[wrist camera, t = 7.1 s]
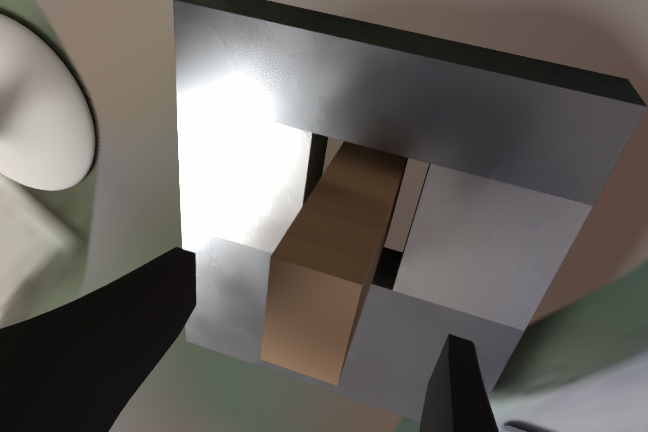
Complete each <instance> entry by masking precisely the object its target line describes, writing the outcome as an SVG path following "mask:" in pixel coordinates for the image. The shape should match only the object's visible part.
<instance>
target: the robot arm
mask: <svg viewBox="0 0 648 432" xmlns="http://www.w3.org/2000/svg"><path fill="white" fill-rule="evenodd" d="M195 307H196V253H194V252H191V251H187V250H184V249H181V248H178V247H175V248H174V249H172V250H170V251H168V252H166V253H164V254H162V255H161V256H159V257H157V258H155V259H153V260H152V261H150V262H148V263H147V264H144V265H143V266H141V267H139V268H137V269H136V270H134V271H132V272H130V273H128V274H126V275H124V276H123V277H121V278H119V279H117V280H115V281H113V282H111V283H110V284H108V285H106V286H104V287H102V288H99V289H97V290H95V291H93V292H91V293H89V294H87V295H85V296H83V297H81V298H79V299H77V300H75V301H73V302H70V303H68V304H66V305H64V306H61V307H59V308H56V309H54V310H52V311H49V312H47V313H44V314H41V315H39V316H36V317H34V318H31V319H29V320H26V321H23V322H20V323H17V324H14V325H11V326H8V327H5V328H2V329H0V432H108V431H109V430H110V428H111V427H112V425H113V423H114V422H115V420H116V419H117V417H118V416H119V414H120V412H121V411H122V409H123V408H124V407H125V405H126V404H127V402H128V401H129V400H130V398H131V397H132V396H133V394H134V393H135V392H136V390H137V389H138V388H139V387H140V385H141V384H142V383H143V381H144V380H145V379H146V378H147V376H148V375H149V374H150V372H151V371H152V370H153V368H154V367H155V366H156V365H157V363H158V362H159V360H160V359H161V358H162V357H163V356H164V354H165V353H166V351H167V350H168V349H169V347H170V346H171V345H172V344H173V342H174V341H175V340H176V338H177V337H178V335H179V334H180V332H181V331H182V329H183V327H184V325H185V324H186V323H187V321H188V319H189V317H190V315H191V314H192V312H193V310H194V308H195ZM420 432H527V431H524V430H521V429H518V428H515V427H512V426H502V427H500V428H499V429H498V427H497V424H496V421H495V418H494V415H493V412H492V409H491V406H490V403H489V400H488V397H487V393H486V390H485V386H484V382H483V379H482V375H481V371H480V367H479V362H478V358H477V353H476V348H475V345H474V343H473V341H470V340H467V339H464V338H461V337H457V336H454V335H451V334H448V337H447V339H446V341H445V344H444V346H443V349H442V351H441V353H440V356H439V358H438V361H437V363H436V365H435V368H434V370H433V372H432V375H431V377H430V380H429V382H428V386H427V391H426V396H425V401H424V406H423V411H422V416H421V424H420Z"/></svg>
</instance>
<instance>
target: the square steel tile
mask: <svg viewBox="0 0 648 432" xmlns="http://www.w3.org/2000/svg"><path fill="white" fill-rule="evenodd" d="M173 7H174V30H175V31H174V32H175V60H176V85H177V113H178V138H179V139H178V140H179V166H180V191H181V192H180V194H181V218H182V247H183V249H184V250H187V251H191V252H194V253H196V307H195V308H194V310H193V312H192V314H191V315H190V317H189V319H188V321H187V323H186V324H185V328H186V341H188V342H191V343H194V344H196V345H199V346H202V347H205V348H208V349H211V350H214V351H217V352H219V353H222V354H225V355H228V356H231V357H234V358H237V359H239V360H242V361H245V362H248V363H251V364H254V365H257V366H259V367H262V368H265V369H268V370H271V371H274V372H277V373H280V374H282V375H286V376H288V377H291V378H294V379H297V380H300V381H302V382H305V383H308V384H311V385H314V386H317V387H320V388H323V389H325V390H329V391H331V392H334V393H337V394H340V395H343V396H345V397H348V398H351V399H354V400H357V401H360V402H363V403H366V404H368V405H371V406H374V407H377V408H380V409H383V410H386V411H389V412H392V413H394V414H397V415H400V416H403V417H406V418H408V419H411V420H414V421H417V422H420V423H421V416H422V411H423V406H424V401H425V396H426V391H427V386H428V382H429V380H430V377H431V375H432V372H433V370H434V368H435V365H436V363H437V361H438V358H439V356H440V353H441V351H442V349H443V346H444V344H445V341H446V339H447V337H448V334H451V335H454V336H457V337H461V338H464V339H467V340H470V341H473V343H474V345H475V348H476V353H477V358H478V362H479V367H480V371H481V375H482V379H483V382H484V386H485V390H486V393H487V397H489V395H490V393H491V391H492V389H493V387H494V386H495V384H496V382H497V380H498V378H499V377H500V375H501V373H502V371H503V369H504V367H505V366H506V364H507V362H508V360H509V358H510V357H511V355H512V353H513V351H514V349H515V347H516V346H517V344H518V342H519V340H520V338H521V337H522V335H523V333H524V331H525V329H526V327H527V326H528V324H529V322H530V320H531V318H532V316H533V315H534V313H535V311H536V309H537V307H538V305H539V304H540V302H541V300H542V298H543V296H544V295H545V293H546V291H547V289H548V287H549V285H550V284H551V282H552V280H553V278H554V276H555V275H556V273H557V271H558V269H559V267H560V266H561V263H562V262H563V260H564V258H565V256H566V254H567V253H568V251H569V249H570V247H571V245H572V244H573V242H574V240H575V238H576V236H577V234H578V233H579V231H580V229H581V227H582V225H583V224H584V222H585V220H586V218H587V216H588V214H589V213H590V211H591V209H592V207H593V205H594V204H595V202H596V200H597V198H598V196H599V194H600V193H601V191H602V189H603V187H604V185H605V184H606V182H607V180H608V178H609V176H610V174H611V172H612V170H613V169H614V167H615V165H616V163H617V161H618V160H619V158H620V156H621V154H622V153H623V151H624V149H625V147H626V145H627V143H628V142H629V140H630V138H631V136H632V134H633V132H634V131H635V129H636V127H637V125H638V123H639V121H640V120H641V118H642V116H643V114H644V112H645V110H646V109H647V105H646V104H645V103H644V101H643V100H642V98H641V97H640V96H639V94H638V93H637V92H636V90H635V89H634V88H633V86H632V85H631V83H630V82H629V81H628V79H625V78H620V77H615V76H611V75H606V74H601V73H597V72H592V71H588V70H583V69H579V68H574V67H570V66H565V65H560V64H556V63H551V62H546V61H542V60H537V59H533V58H528V57H524V56H519V55H514V54H510V53H505V52H500V51H496V50H492V49H487V48H482V47H478V46H473V45H469V44H464V43H460V42H455V41H450V40H446V39H441V38H437V37H431V36H428V35H423V34H418V33H413V32H409V31H405V30H400V29H395V28H390V27H386V26H381V25H377V24H372V23H368V22H363V21H359V20H354V19H350V18H345V17H340V16H336V15H331V14H327V13H322V12H318V11H313V10H308V9H304V8H299V7H295V6H289V5H286V4H281V3H276V2H272V1H267V0H173ZM328 137H331V138H334V139H338V140H342V141H346V142H350V143H354V144H357V145H361V146H365V147H369V148H373V149H377V150H380V151H384V152H388V153H392V154H396V155H400V156H403V157H407V158H412V159H415V160H419V161H423V162H427V163H429V167H428V170H427V174H426V177H425V180H424V184H423V187H422V190H421V194H420V197H419V200H418V204H417V207H416V211H415V214H414V217H413V220H412V224H411V227H410V230H409V234H408V237H407V241H406V244H405V247H404V251H403V253H402V252H399V251H396V250H392V249H389V248H385V247H383V250H382V253H381V256H380V259H379V262H378V265H377V268H376V271H375V274H374V277H373V280H372V283H371V286H370V289H369V292H368V295H367V298H366V301H365V304H364V307H363V310H362V313H361V316H360V319H359V322H358V325H357V328H356V331H355V334H354V337H353V340H352V343H351V346H350V349H349V352H348V355H347V358H346V361H345V364H344V367H343V370H342V373H341V376H340V379H339V382H338V385H337V386H336V385H333V384H331V383H328V382H325V381H322V380H319V379H316V378H313V377H310V376H308V375H305V374H302V373H299V372H296V371H293V370H290V369H287V368H285V367H282V366H279V365H276V364H273V363H270V362H267V361H264V360H261V359H260V358H261V348H262V338H263V327H264V317H265V307H266V297H267V286H268V276H269V266H270V257H271V255H272V253H273V252H274V250H275V249H276V247H277V246H278V244H279V242H280V241H281V239H282V238H283V236H284V235H285V233H286V232H287V230H288V228H289V227H290V225H291V224H292V222H293V221H294V219H295V217H296V216H297V214H298V213H299V211H300V210H301V208H302V207H303V205H304V203H305V202H306V200H307V199H308V197H309V196H310V194H311V192H312V191H313V189H314V188H315V186H316V185H317V183H318V182H319V180H320V178H321V177H322V173H323V166H324V159H325V153H326V147H327V141H328Z"/></svg>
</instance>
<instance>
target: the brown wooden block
mask: <svg viewBox="0 0 648 432" xmlns="http://www.w3.org/2000/svg"><path fill="white" fill-rule="evenodd" d="M407 161H408V158H407V157H403V156H400V155H396V154H392V153H388V152H384V151H380V150H377V149H373V148H369V147H365V146H361V145H357V144H354V143H350V142H346V141H344V142H343V144H342V146H341V147H340V149H339V150H338V152H337V154H336V155H335V157H334V158H333V160H332V161H331V163H330V164H329V166H328V167H327V169H326V171H325V172H324V174H323V175H322V177H321V178H320V180H319V182H318V183H317V185H316V186H315V188H314V189H313V191H312V192H311V194H310V196H309V197H308V199H307V200H306V202H305V203H304V205H303V207H302V208H301V210H300V211H299V213H298V214H297V216H296V217H295V219H294V221H293V222H292V224H291V225H290V227H289V228H288V230H287V232H286V233H285V235H284V236H283V238H282V239H281V241H280V242H279V244H278V246H277V247H276V249H275V250H274V252H273V253H272V255H271V257H270V266H269V276H268V286H267V297H266V307H265V317H264V327H263V338H262V348H261V358H260V359H261V360H264V361H267V362H270V363H273V364H276V365H279V366H282V367H285V368H287V369H290V370H293V371H296V372H299V373H302V374H305V375H308V376H310V377H313V378H316V379H319V380H322V381H325V382H328V383H331V384H333V385H336V386H337V385H338V382H339V379H340V376H341V373H342V370H343V367H344V364H345V361H346V358H347V355H348V352H349V349H350V346H351V343H352V340H353V337H354V334H355V331H356V328H357V325H358V322H359V319H360V316H361V313H362V310H363V307H364V304H365V301H366V298H367V295H368V292H369V289H370V286H371V283H372V280H373V277H374V274H375V271H376V268H377V265H378V262H379V259H380V256H381V253H382V250H383V247H384V244H385V241H386V238H387V235H388V231H389V228H390V224H391V220H392V217H393V213H394V209H395V206H396V202H397V198H398V194H399V191H400V187H401V183H402V179H403V175H404V172H405V168H406V165H407Z"/></svg>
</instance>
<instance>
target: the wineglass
mask: <svg viewBox="0 0 648 432" xmlns="http://www.w3.org/2000/svg"><path fill="white" fill-rule="evenodd" d="M94 153H95V132H94V126H93V121H92V117H91V114H90V111H89V108H88V105H87V102H86V100H85V98H84V96H83V93H82V91H81V90H80V88H79V86H78V84H77V82H76V81H75V79H74V77H73V76H72V74H71V73H70V71H69V70H68V68H67V67H66V66H65V64H64V63H63V62H62V61H61V59H60V58H59V57H58V56H57V55H56V54H55V52H54V51H53V50H52V49H51V48H50V47H49V46H48V45H47V44H46V43H45V42H44V41H43V40H41V39H40V38H39V37H38V36H37V35H35V34H34V33H33V32H32V31H30V30H29V29H28V28H26V27H25V26H23V25H22V24H20V23H18V22H17V21H15V20H13V19H11V18H9V17H7V16H5V15H2V14H0V173H2V174H3V175H5V176H7V177H9V178H10V179H12V180H14V181H16V182H19V183H21V184H23V185H26V186H29V187H32V188H36V189H41V190H52V191H53V190H63V189H67V188H70V187H72V186H74V185H76V184H77V183H79V182H80V181H81V180H82V179H83V178H84V177H85V176H86V174H87V173H88V171H89V169H90V167H91V164H92V161H93V158H94Z"/></svg>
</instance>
